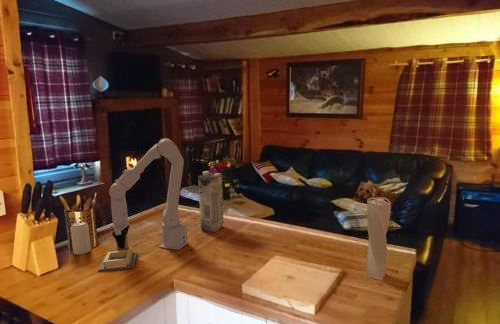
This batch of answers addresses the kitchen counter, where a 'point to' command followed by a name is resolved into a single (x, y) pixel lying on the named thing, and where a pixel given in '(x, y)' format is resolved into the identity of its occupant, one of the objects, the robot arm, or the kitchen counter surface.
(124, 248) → the tube
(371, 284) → the kitchen counter surface
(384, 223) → the skyscraper
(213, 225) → the juice carton
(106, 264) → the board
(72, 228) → the can
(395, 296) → the kitchen counter surface
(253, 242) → the kitchen counter surface
